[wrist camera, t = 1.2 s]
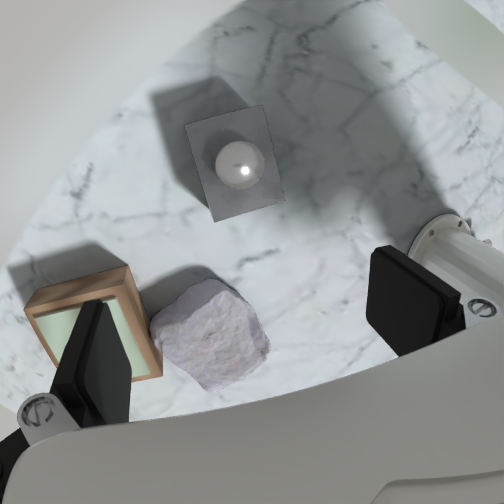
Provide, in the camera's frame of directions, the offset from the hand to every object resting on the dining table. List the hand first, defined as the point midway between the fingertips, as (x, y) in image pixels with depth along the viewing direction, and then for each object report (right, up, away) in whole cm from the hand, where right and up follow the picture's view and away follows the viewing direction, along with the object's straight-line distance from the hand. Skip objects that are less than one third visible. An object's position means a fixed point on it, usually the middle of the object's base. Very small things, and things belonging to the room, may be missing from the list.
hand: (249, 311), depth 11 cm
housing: (-2, +10, +18) cm, 20 cm away
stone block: (-4, -6, +24) cm, 25 cm away
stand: (-16, -6, +20) cm, 27 cm away
